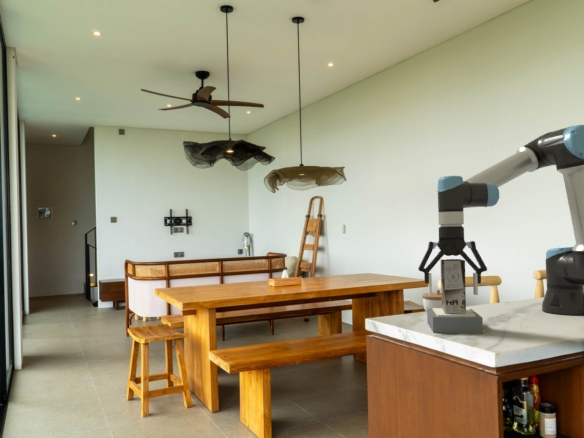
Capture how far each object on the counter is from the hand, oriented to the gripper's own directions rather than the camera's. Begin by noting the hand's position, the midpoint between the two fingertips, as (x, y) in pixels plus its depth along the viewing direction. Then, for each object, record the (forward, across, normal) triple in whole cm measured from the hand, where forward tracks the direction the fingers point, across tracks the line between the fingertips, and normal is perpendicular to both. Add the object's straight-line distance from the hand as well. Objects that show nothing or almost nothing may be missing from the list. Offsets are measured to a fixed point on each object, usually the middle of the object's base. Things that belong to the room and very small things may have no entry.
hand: (452, 294), depth 153 cm
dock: (+10, 0, 0) cm, 10 cm away
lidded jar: (+10, +2, -19) cm, 22 cm away
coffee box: (+6, 0, 0) cm, 6 cm away
